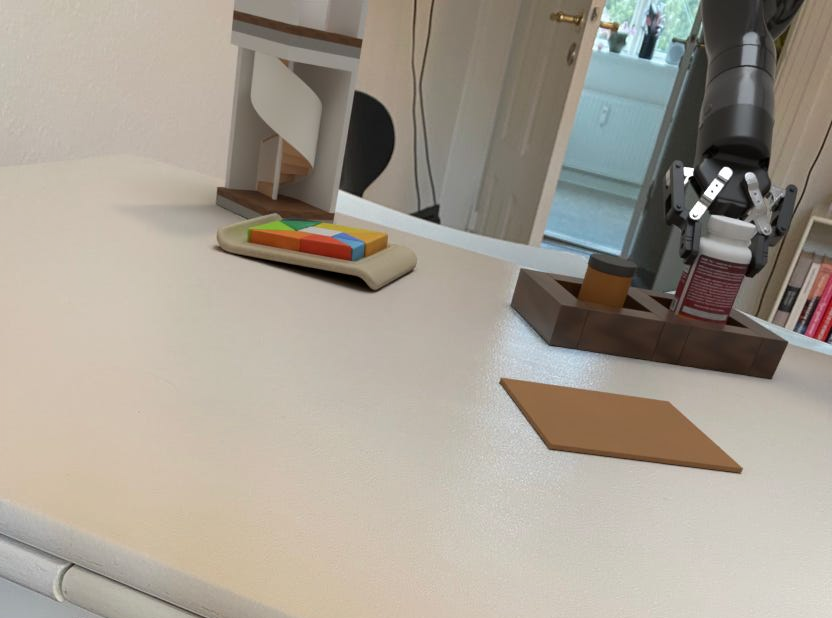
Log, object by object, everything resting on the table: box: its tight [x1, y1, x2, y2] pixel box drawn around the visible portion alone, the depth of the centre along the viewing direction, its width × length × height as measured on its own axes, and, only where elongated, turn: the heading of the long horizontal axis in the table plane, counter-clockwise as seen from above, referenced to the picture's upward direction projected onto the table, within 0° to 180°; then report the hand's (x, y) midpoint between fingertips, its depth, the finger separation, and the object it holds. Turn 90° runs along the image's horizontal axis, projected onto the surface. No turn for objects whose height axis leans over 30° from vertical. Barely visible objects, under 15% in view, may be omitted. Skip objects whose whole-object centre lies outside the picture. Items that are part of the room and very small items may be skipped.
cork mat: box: [499, 377, 744, 474], centre depth 74 cm, size 16×14×1 cm
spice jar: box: [578, 252, 638, 308], centre depth 96 cm, size 5×5×8 cm
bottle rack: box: [510, 267, 789, 380], centre depth 98 cm, size 26×14×4 cm, turn 97°
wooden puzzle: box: [216, 213, 418, 291], centre depth 102 cm, size 17×19×4 cm
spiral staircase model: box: [215, 0, 370, 224], centre depth 109 cm, size 11×11×35 cm
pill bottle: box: [669, 214, 756, 325], centre depth 96 cm, size 6×6×11 cm
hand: (721, 266), depth 94 cm, fingers closed on pill bottle, 6 cm apart
